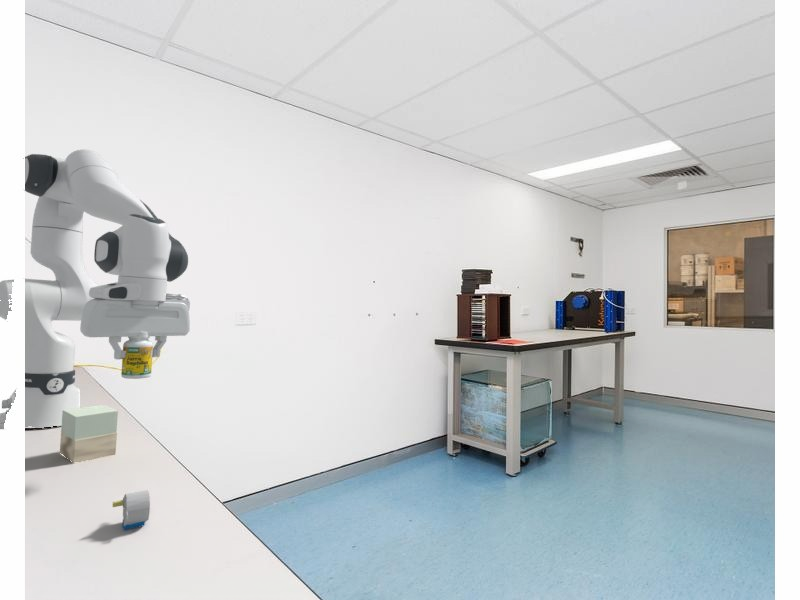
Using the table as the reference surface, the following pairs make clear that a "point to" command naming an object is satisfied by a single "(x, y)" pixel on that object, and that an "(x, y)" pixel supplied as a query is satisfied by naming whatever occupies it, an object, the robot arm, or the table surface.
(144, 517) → the electric motor
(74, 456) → the tower bottom block
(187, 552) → the table surface
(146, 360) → the supplement bottle
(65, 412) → the tower top block
